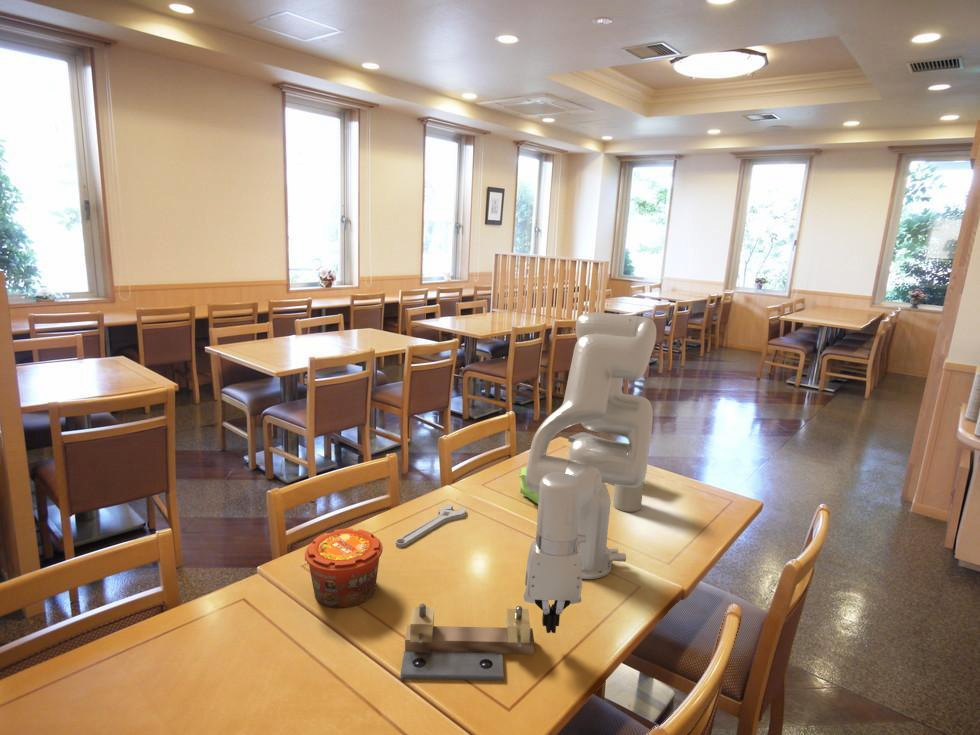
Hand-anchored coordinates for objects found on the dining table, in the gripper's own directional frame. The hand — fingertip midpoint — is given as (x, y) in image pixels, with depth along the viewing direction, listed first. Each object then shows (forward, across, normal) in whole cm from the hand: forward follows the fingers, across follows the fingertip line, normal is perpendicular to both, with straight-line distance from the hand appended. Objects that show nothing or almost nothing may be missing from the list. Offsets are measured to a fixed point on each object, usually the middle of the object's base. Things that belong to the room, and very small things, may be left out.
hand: (550, 628), depth 111 cm
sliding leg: (+1, +6, +1) cm, 6 cm away
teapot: (+4, -6, -64) cm, 64 cm away
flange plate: (+4, +18, +6) cm, 19 cm away
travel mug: (+4, -30, -59) cm, 67 cm away
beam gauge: (+4, +15, +1) cm, 16 cm away
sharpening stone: (+4, -28, -80) cm, 85 cm away
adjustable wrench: (+5, +26, -45) cm, 52 cm away
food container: (+4, +42, -17) cm, 45 cm away
